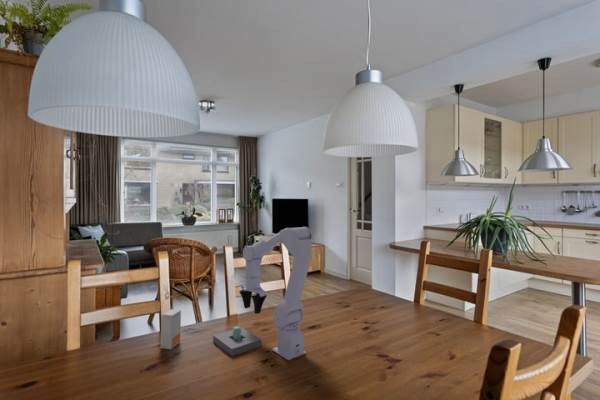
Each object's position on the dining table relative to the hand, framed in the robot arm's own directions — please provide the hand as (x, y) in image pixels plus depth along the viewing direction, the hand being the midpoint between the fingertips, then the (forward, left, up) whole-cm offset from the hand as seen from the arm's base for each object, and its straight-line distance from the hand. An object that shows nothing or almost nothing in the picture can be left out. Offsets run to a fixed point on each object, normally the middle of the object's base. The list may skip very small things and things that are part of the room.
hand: (252, 310), depth 128 cm
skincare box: (+10, +28, -10) cm, 31 cm away
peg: (-4, +9, -9) cm, 14 cm away
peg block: (-4, +9, -9) cm, 14 cm away
